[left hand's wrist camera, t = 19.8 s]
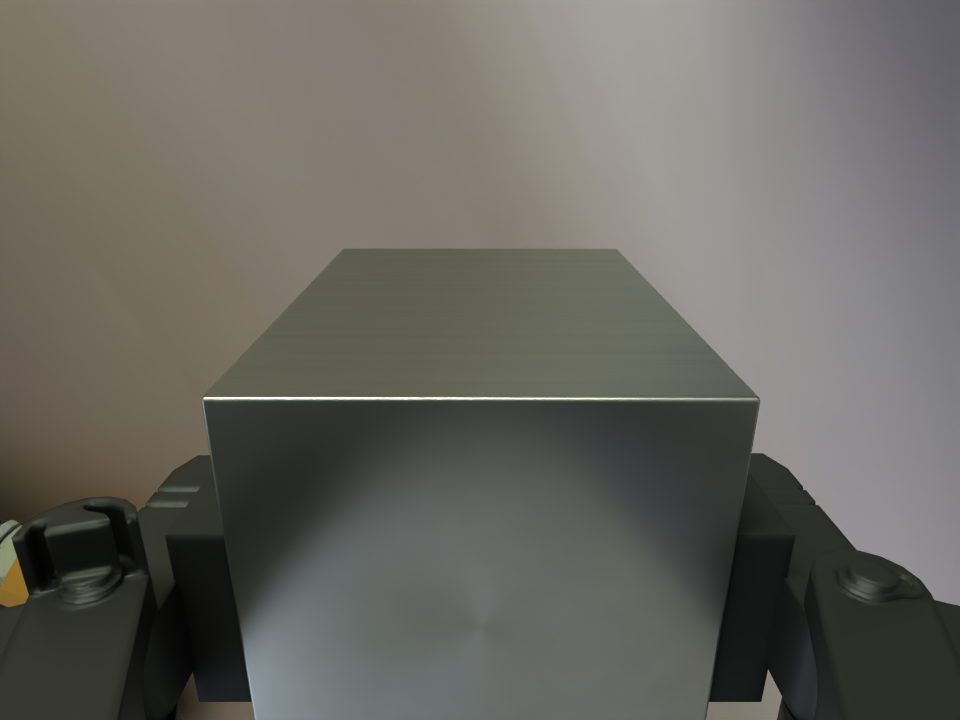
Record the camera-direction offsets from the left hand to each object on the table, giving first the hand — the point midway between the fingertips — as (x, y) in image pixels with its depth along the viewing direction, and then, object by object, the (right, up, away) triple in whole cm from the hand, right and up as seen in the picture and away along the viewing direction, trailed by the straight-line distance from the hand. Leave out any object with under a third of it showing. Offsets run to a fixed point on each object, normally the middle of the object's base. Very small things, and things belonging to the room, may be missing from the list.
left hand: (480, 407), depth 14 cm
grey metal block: (0, +1, +1) cm, 2 cm away
